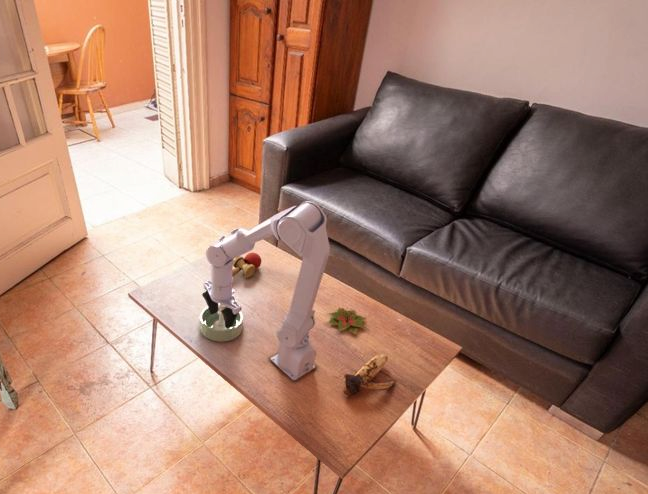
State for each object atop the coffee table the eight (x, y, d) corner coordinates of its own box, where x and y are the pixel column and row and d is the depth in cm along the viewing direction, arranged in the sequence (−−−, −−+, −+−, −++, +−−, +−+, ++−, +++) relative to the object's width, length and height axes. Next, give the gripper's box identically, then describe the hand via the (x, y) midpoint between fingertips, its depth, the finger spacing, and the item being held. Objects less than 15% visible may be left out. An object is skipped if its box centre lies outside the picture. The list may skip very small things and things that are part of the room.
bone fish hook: (365, 413, 103) (404, 374, 112) (370, 402, 100) (409, 362, 109) (334, 390, 108) (373, 354, 117) (338, 378, 105) (377, 342, 114)
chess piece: (227, 333, 123) (228, 306, 116) (211, 331, 123) (210, 304, 117) (231, 322, 126) (231, 296, 120) (215, 320, 127) (214, 293, 121)
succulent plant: (372, 319, 129) (376, 307, 126) (358, 341, 122) (361, 329, 119) (335, 304, 134) (338, 293, 131) (319, 325, 127) (322, 313, 124)
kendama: (229, 294, 140) (268, 267, 147) (225, 278, 136) (265, 252, 143) (214, 286, 145) (253, 261, 153) (210, 271, 141) (249, 246, 149)
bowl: (250, 331, 124) (251, 319, 121) (216, 348, 119) (216, 337, 116) (225, 309, 132) (225, 298, 129) (192, 325, 126) (191, 313, 123)
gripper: (250, 289, 112) (248, 327, 120) (217, 264, 120) (217, 301, 129) (228, 298, 108) (228, 337, 117) (196, 272, 117) (198, 310, 126)
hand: (221, 319), depth 123 cm, fingers open, 7 cm apart
